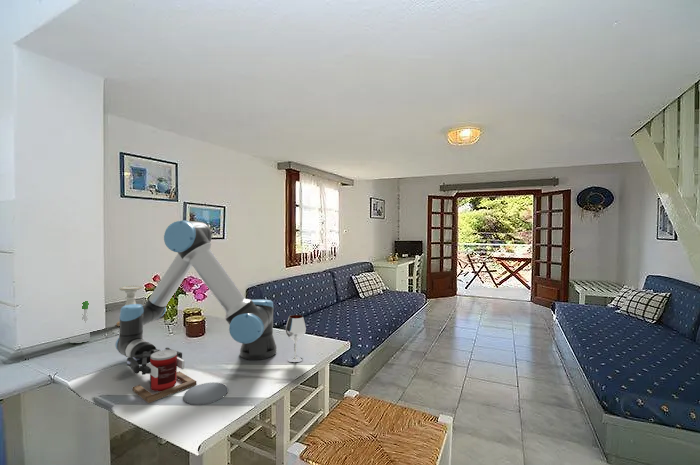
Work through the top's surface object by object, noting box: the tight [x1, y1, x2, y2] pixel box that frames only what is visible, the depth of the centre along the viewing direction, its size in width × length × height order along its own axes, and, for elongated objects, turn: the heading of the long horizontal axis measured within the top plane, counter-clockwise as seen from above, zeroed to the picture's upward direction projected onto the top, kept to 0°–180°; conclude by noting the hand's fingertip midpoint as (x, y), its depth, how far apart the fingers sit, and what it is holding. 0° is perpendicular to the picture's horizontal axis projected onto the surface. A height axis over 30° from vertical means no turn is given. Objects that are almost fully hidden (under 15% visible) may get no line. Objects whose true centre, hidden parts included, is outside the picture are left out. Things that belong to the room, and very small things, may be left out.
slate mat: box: [183, 382, 229, 406], centre depth 104 cm, size 13×13×1 cm
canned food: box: [149, 349, 178, 392], centre depth 108 cm, size 8×8×11 cm
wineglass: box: [285, 314, 307, 360], centre depth 132 cm, size 8×8×18 cm
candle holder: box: [116, 285, 143, 327], centre depth 175 cm, size 12×12×20 cm
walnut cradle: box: [132, 371, 198, 404], centre depth 107 cm, size 12×15×1 cm
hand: (170, 368), depth 105 cm, fingers closed on canned food, 8 cm apart
